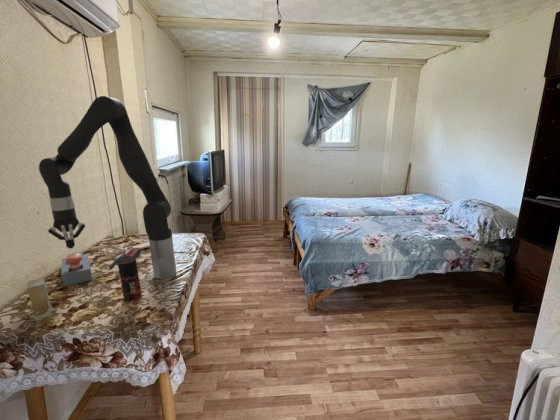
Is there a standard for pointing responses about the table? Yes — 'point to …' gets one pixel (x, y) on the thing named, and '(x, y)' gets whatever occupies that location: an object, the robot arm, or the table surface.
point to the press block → (76, 272)
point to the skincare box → (39, 298)
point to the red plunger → (74, 262)
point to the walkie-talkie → (127, 255)
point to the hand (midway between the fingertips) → (71, 247)
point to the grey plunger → (74, 254)
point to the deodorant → (129, 279)
